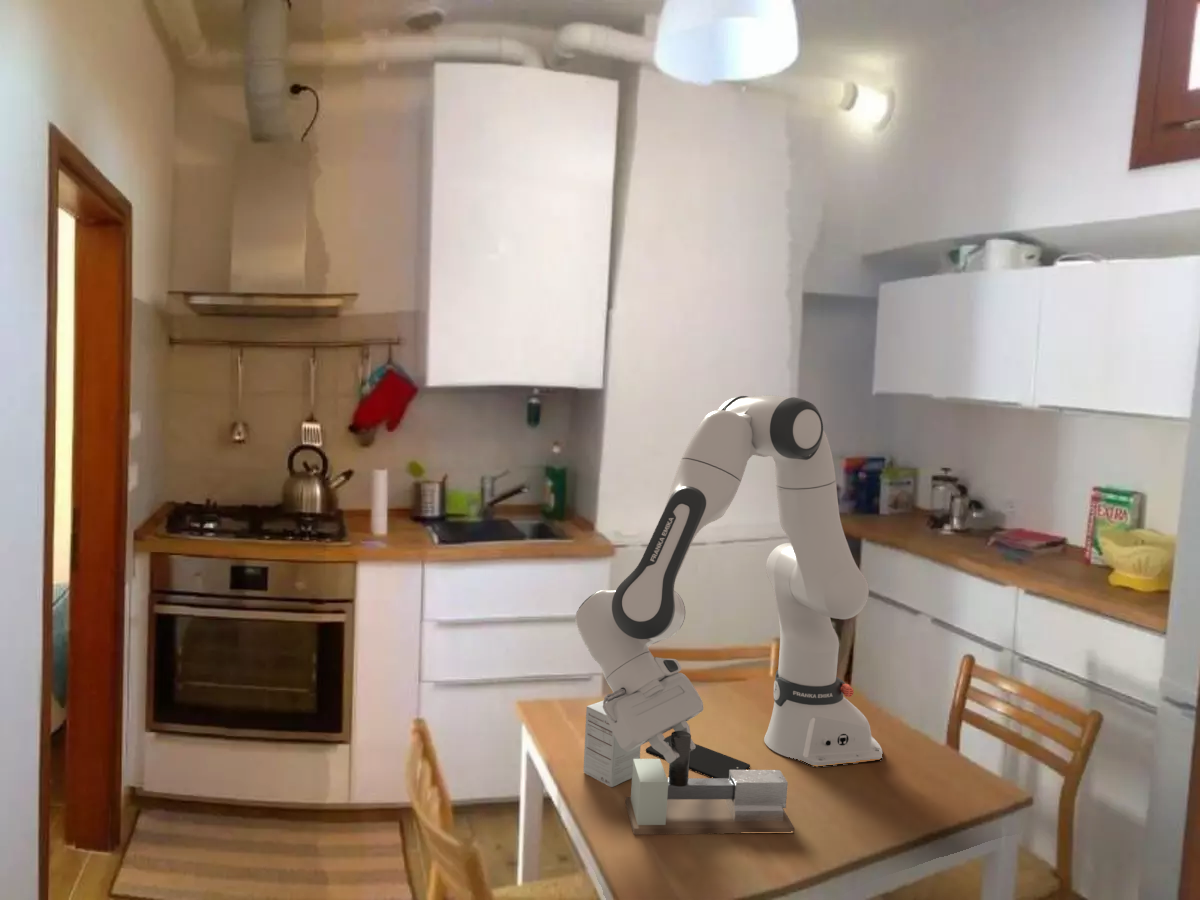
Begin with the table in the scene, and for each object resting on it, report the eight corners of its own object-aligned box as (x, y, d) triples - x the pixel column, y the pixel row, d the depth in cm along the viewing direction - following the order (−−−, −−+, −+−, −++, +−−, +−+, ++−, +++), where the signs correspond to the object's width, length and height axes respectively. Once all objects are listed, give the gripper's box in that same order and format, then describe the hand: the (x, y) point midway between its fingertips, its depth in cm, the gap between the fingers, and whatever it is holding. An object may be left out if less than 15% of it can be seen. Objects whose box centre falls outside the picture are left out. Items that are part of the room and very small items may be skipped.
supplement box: (610, 761, 170) (614, 695, 168) (640, 776, 165) (644, 708, 163) (581, 772, 165) (585, 705, 163) (610, 788, 159) (614, 718, 158)
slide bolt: (734, 790, 153) (739, 731, 152) (739, 800, 150) (744, 739, 149) (645, 790, 151) (649, 730, 150) (648, 800, 148) (652, 739, 147)
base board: (775, 802, 158) (776, 796, 158) (793, 833, 148) (794, 827, 148) (625, 802, 155) (625, 796, 155) (633, 834, 145) (634, 828, 145)
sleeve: (775, 802, 156) (778, 767, 155) (786, 821, 150) (789, 784, 149) (725, 802, 155) (728, 767, 154) (734, 821, 149) (737, 784, 148)
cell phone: (670, 738, 181) (671, 734, 181) (751, 769, 170) (751, 764, 170) (644, 753, 174) (644, 748, 174) (726, 786, 163) (726, 781, 163)
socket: (657, 799, 154) (659, 758, 153) (665, 824, 146) (668, 782, 146) (630, 799, 154) (633, 758, 153) (637, 825, 146) (640, 782, 145)
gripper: (610, 688, 144) (657, 768, 139) (682, 657, 160) (727, 728, 155) (587, 708, 147) (632, 786, 143) (660, 675, 163) (703, 745, 158)
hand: (682, 755), depth 149 cm, fingers open, 3 cm apart
